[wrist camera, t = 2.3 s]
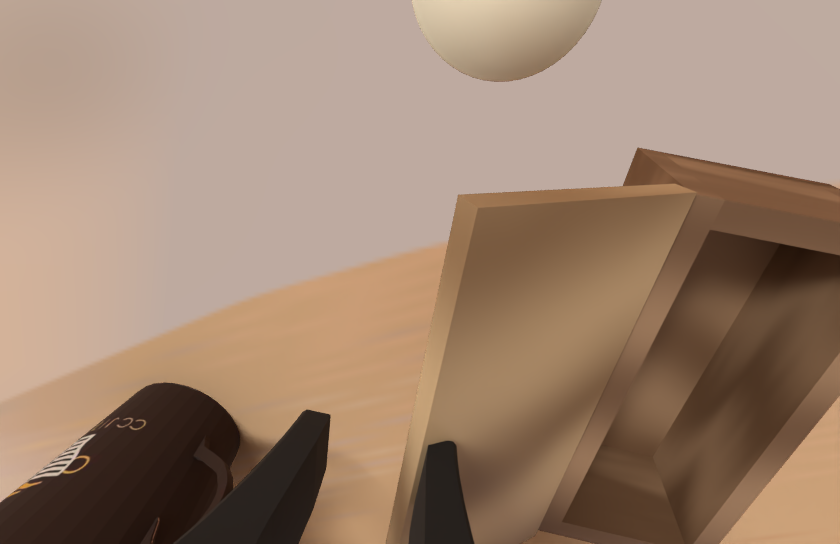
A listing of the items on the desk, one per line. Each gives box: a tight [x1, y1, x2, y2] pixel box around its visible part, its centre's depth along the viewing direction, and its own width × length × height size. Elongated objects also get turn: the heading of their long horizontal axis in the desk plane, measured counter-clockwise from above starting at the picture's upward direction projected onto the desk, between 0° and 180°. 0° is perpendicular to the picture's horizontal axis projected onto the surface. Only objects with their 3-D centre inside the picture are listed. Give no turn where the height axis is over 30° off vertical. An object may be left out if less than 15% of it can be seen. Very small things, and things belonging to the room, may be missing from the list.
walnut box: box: [538, 148, 840, 544], centre depth 17 cm, size 14×6×5 cm, turn 171°
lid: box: [386, 184, 697, 544], centre depth 13 cm, size 14×7×1 cm
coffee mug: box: [0, 383, 240, 544], centre depth 21 cm, size 12×9×10 cm
